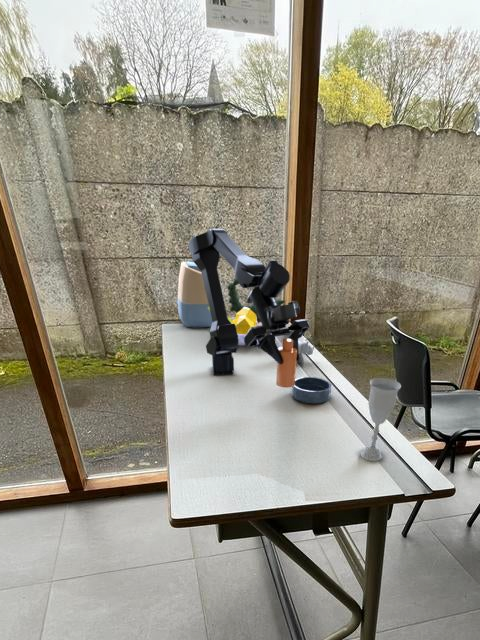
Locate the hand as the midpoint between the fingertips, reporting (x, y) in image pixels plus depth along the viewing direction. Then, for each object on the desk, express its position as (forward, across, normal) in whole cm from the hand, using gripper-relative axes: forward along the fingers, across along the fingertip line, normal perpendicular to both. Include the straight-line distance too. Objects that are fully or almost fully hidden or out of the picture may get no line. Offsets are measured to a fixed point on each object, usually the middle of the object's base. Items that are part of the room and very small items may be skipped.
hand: (290, 362), depth 117 cm
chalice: (+32, 0, -13) cm, 35 cm away
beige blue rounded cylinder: (-54, +23, +74) cm, 94 cm away
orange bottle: (+4, 0, +6) cm, 7 cm away
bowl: (+7, +12, +12) cm, 18 cm away
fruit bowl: (-33, +26, +53) cm, 68 cm away
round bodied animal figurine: (-12, +29, +31) cm, 44 cm away
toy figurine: (-48, +48, +68) cm, 97 cm away
